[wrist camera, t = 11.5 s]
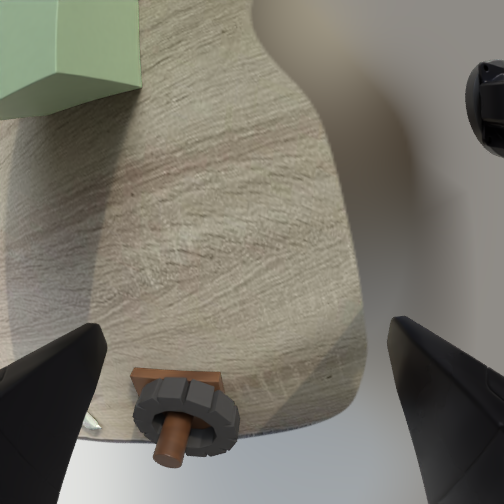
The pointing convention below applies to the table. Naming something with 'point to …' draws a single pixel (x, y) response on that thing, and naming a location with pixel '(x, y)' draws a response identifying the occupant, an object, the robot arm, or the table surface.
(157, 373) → the stand
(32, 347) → the table surface
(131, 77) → the riser box
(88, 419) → the granola bar
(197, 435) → the chunky treaded tire
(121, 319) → the table surface
